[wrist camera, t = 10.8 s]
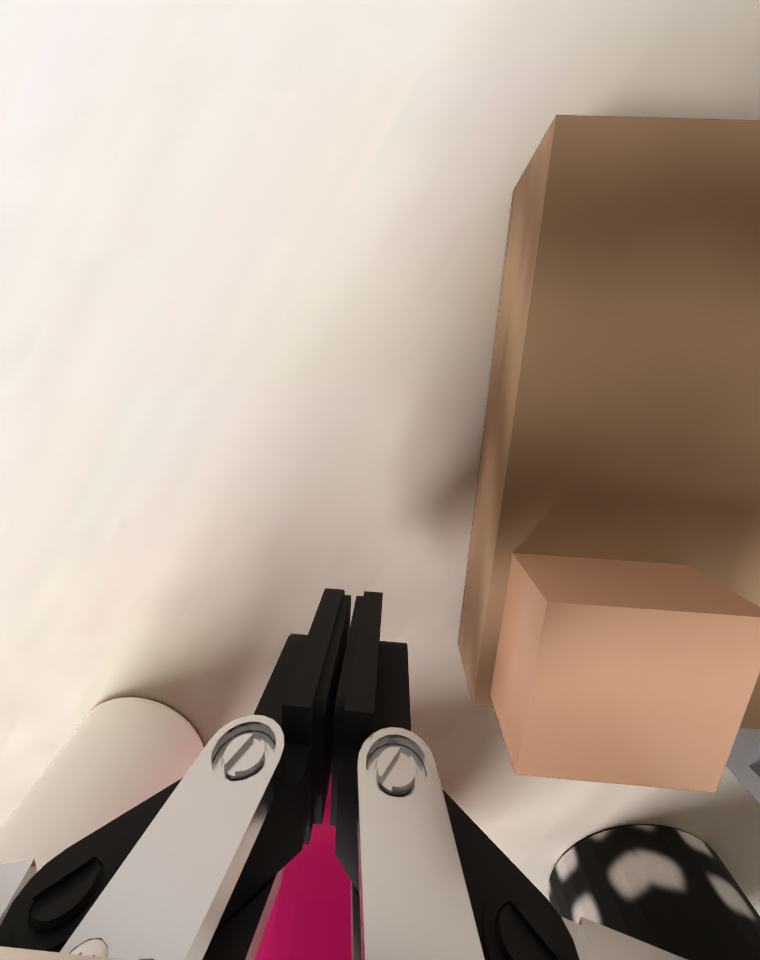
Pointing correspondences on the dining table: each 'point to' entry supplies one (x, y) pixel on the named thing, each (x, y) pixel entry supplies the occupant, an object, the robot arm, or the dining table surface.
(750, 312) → the board
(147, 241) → the dining table surface
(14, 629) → the dining table surface
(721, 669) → the tile
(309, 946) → the pepper mill
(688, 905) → the spotted tube
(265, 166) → the dining table surface
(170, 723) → the cosmetic bottle
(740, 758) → the box
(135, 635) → the dining table surface
